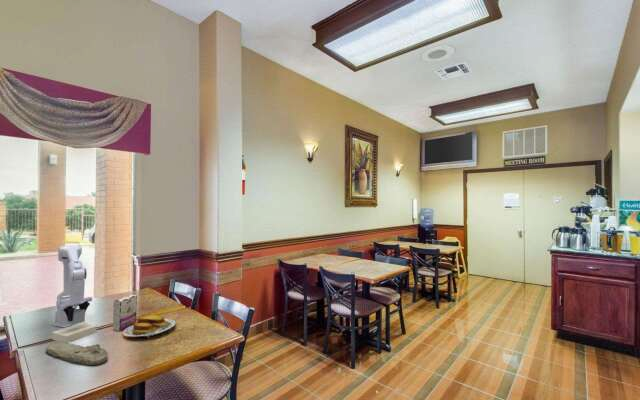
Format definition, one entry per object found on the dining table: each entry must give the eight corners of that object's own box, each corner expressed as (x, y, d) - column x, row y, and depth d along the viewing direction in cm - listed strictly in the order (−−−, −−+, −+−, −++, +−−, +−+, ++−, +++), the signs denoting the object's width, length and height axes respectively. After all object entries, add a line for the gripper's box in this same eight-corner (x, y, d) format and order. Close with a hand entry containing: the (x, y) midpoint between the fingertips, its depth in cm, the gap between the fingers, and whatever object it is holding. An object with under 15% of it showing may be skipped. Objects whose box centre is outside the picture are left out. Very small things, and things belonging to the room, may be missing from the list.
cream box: (52, 340, 148) (52, 332, 148) (82, 329, 161) (83, 322, 161) (65, 344, 144) (66, 336, 144) (96, 333, 157) (96, 325, 158)
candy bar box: (129, 322, 171) (130, 294, 172) (136, 323, 170) (137, 295, 171) (111, 330, 160) (113, 300, 161) (119, 331, 159) (121, 300, 160)
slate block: (67, 323, 151) (67, 311, 152) (77, 320, 156) (78, 308, 156) (74, 324, 150) (74, 312, 150) (84, 321, 155) (85, 309, 155)
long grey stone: (62, 347, 144) (37, 358, 134) (62, 336, 144) (37, 347, 134) (115, 357, 133) (92, 369, 123) (115, 345, 133) (92, 357, 123)
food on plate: (122, 346, 144) (122, 332, 144) (121, 328, 165) (122, 316, 165) (179, 334, 159) (179, 322, 159) (172, 319, 179) (172, 308, 179)
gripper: (67, 297, 145) (66, 325, 145) (97, 289, 159) (95, 315, 159) (57, 295, 147) (55, 323, 147) (87, 288, 161) (86, 313, 161)
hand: (75, 319), depth 153 cm, fingers closed on slate block, 5 cm apart
